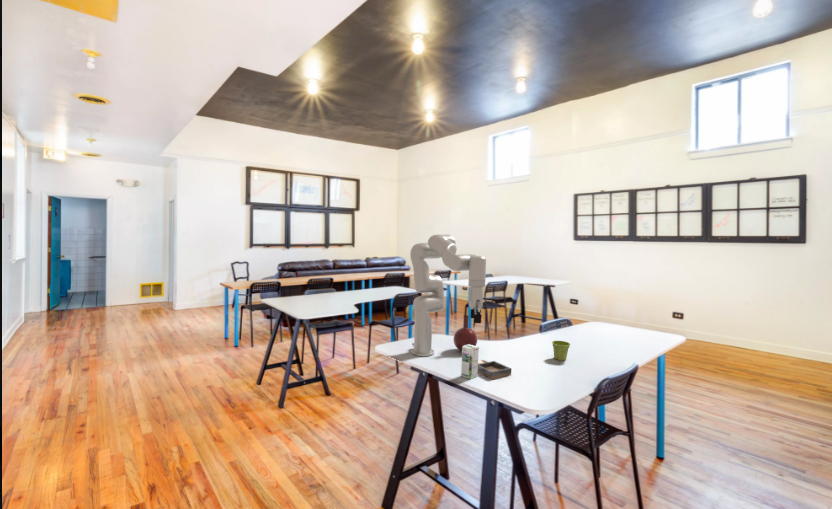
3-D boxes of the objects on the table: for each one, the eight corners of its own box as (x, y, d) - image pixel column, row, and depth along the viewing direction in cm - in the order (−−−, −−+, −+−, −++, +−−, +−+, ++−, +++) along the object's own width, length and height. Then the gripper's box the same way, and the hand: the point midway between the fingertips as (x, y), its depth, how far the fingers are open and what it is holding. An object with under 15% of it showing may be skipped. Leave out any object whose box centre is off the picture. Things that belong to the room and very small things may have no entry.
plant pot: (570, 362, 223) (571, 346, 222) (552, 360, 225) (552, 344, 224) (568, 356, 232) (569, 341, 231) (550, 355, 234) (550, 339, 233)
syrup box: (460, 376, 199) (461, 345, 198) (468, 373, 203) (469, 343, 202) (470, 379, 195) (471, 348, 194) (477, 376, 199) (479, 346, 198)
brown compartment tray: (465, 366, 213) (465, 359, 213) (483, 362, 219) (483, 356, 219) (492, 379, 196) (492, 372, 196) (511, 374, 202) (511, 368, 202)
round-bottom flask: (476, 355, 230) (478, 319, 228) (452, 353, 232) (453, 317, 230) (477, 348, 242) (478, 314, 241) (453, 346, 244) (455, 312, 243)
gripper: (465, 280, 201) (464, 316, 202) (471, 286, 183) (470, 325, 185) (481, 280, 201) (480, 316, 202) (488, 286, 184) (487, 325, 185)
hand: (475, 320), depth 193 cm, fingers open, 9 cm apart
